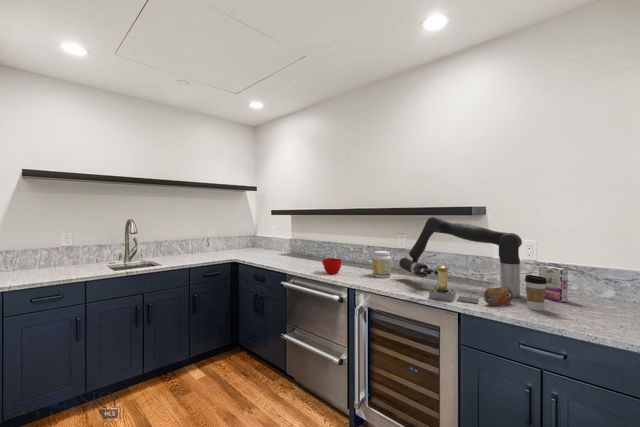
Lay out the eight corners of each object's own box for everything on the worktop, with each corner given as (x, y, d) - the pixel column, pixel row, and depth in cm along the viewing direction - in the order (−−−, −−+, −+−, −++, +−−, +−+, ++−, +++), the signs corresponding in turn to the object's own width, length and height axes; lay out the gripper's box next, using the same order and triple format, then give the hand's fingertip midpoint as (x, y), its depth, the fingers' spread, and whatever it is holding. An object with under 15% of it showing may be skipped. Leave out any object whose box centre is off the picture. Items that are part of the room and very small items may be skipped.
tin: (487, 306, 145) (487, 288, 145) (482, 304, 148) (482, 287, 148) (513, 304, 149) (513, 286, 149) (507, 302, 153) (507, 285, 152)
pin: (449, 296, 161) (449, 266, 161) (447, 299, 156) (447, 268, 156) (437, 295, 164) (437, 265, 164) (435, 297, 159) (435, 266, 159)
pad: (478, 299, 156) (478, 298, 156) (477, 304, 149) (477, 302, 149) (459, 297, 161) (459, 295, 161) (457, 301, 153) (457, 300, 153)
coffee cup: (525, 304, 148) (525, 273, 148) (547, 308, 143) (547, 276, 143) (523, 309, 142) (523, 276, 141) (546, 312, 136) (546, 279, 136)
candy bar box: (568, 301, 154) (568, 269, 154) (561, 302, 152) (561, 269, 152) (544, 296, 164) (545, 265, 164) (538, 297, 162) (538, 265, 162)
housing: (455, 296, 162) (455, 288, 162) (452, 301, 153) (452, 293, 153) (433, 293, 168) (433, 286, 168) (429, 298, 158) (429, 290, 158)
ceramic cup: (329, 270, 233) (329, 257, 233) (345, 273, 220) (345, 259, 220) (316, 272, 224) (316, 258, 224) (331, 276, 211) (331, 261, 211)
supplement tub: (369, 275, 216) (369, 251, 216) (385, 274, 220) (385, 250, 220) (378, 278, 205) (378, 253, 205) (394, 277, 208) (394, 252, 208)
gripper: (408, 263, 184) (421, 268, 168) (430, 262, 186) (445, 267, 170) (408, 275, 184) (421, 281, 168) (430, 275, 186) (445, 281, 170)
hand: (433, 274), depth 169 cm, fingers open, 8 cm apart
